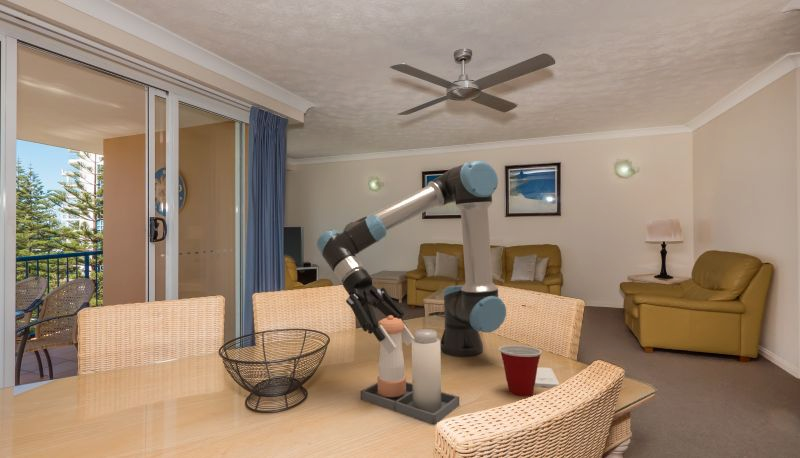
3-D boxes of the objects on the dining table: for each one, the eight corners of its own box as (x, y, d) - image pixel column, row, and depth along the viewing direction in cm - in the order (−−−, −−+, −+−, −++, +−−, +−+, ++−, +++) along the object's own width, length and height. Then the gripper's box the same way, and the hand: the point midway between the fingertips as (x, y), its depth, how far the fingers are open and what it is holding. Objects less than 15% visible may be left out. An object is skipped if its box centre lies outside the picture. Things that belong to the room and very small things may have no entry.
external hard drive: (551, 373, 114) (560, 390, 102) (523, 371, 116) (528, 388, 104) (551, 367, 114) (560, 384, 102) (523, 366, 116) (528, 382, 104)
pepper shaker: (410, 387, 98) (409, 313, 98) (398, 399, 92) (397, 320, 92) (385, 383, 101) (384, 311, 101) (372, 394, 95) (370, 317, 95)
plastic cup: (542, 388, 102) (541, 343, 102) (543, 406, 92) (542, 356, 92) (500, 383, 106) (500, 340, 106) (497, 400, 95) (496, 352, 95)
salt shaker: (423, 398, 95) (421, 326, 95) (446, 406, 91) (445, 330, 91) (407, 409, 89) (405, 333, 90) (431, 417, 85) (430, 337, 85)
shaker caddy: (388, 387, 104) (388, 376, 104) (459, 409, 91) (459, 396, 91) (360, 403, 95) (360, 391, 95) (434, 429, 82) (434, 415, 82)
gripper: (370, 281, 114) (416, 344, 104) (319, 291, 98) (367, 366, 88) (384, 264, 111) (432, 328, 101) (333, 271, 95) (384, 347, 85)
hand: (402, 346), depth 94 cm, fingers closed on pepper shaker, 7 cm apart
